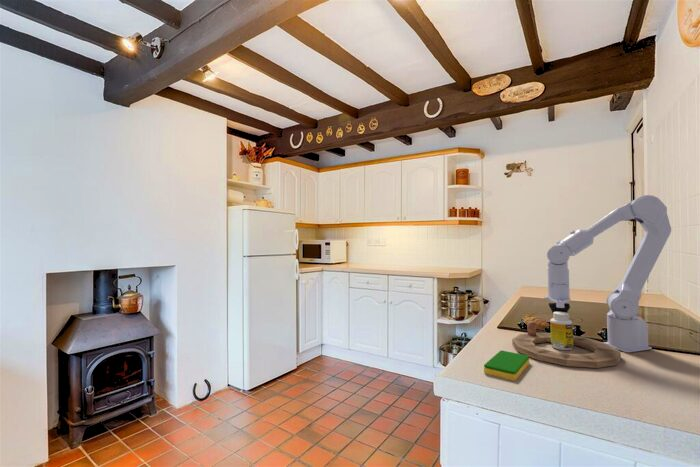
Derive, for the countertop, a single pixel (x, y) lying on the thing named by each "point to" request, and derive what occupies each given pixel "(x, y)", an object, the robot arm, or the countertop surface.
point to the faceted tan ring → (599, 358)
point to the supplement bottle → (561, 331)
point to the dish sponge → (507, 365)
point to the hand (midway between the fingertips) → (559, 326)
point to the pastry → (539, 322)
